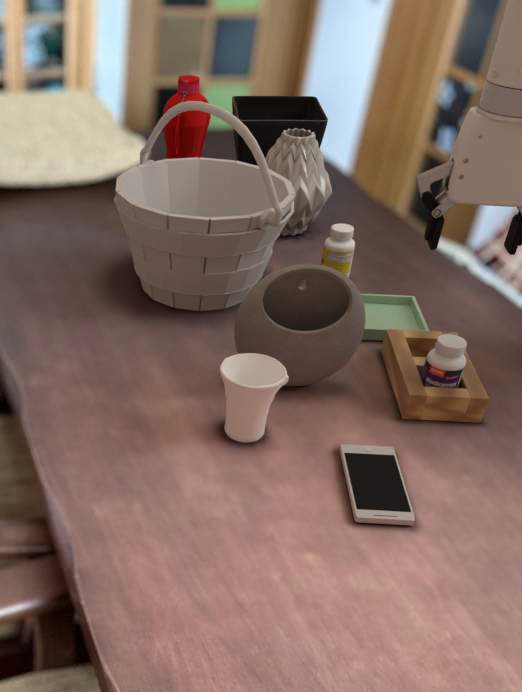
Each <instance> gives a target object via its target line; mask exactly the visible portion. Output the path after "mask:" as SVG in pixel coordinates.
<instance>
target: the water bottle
mask: <svg viewBox="0 0 522 692" xmlns="http://www.w3.org/2000/svg"><path fill="white" fill-rule="evenodd" d="M200 79H201V77H200V76H197V75H193V74H183V75H180V76H179V75H178V77H177V90H176V93H174V94H173V95H171V96H170V97H169V99H167V101H166V103H165V105H164V108H163V111H162V116H163V115H164V114H165V113H166V112H167V111H168V110H169V109H170V108H172V107H174V106H175V105H177V104H179V103H182V102H187V101H201V102H205V103H209V104H210V102H209V100H208V99H207V98H206V97H205V95H203V94H202V93H200V83H201V82H200V81H201V80H200ZM211 116H212V114H209V113H206V112H202V111H193V110H188V111H185V112H182V113H179V114H178V115H176V116H175V117H173V118H172V119H171V120H170V121H169V122H168V123H167V124H166V125H165V126H164V128H163V129H162V131H163V136H164V141H165V159H177V158H195V157H198V158H199V159H200V157H202V158H203V153H204V146H205V142H206V138H207V133H208V129H209V126H210V122H211V119H212V117H211Z"/></svg>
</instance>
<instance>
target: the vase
mask: <svg viewBox="0 0 522 692" xmlns="http://www.w3.org/2000/svg"><path fill="white" fill-rule="evenodd" d="M265 160H266V163H267V166H268V169H270V170H272V171H274V172H275V173H277V174H279V175H281V176H283V177H284V178H286V179H288V180H290V181H291V183H292V186H293V188H294V191H295V193H296V196H295V198H294V213H293V214H292V216H291V217H290V219H289V220H288V222H287V223H286V225H285V226H284V228H283V230H282V231H281V233H280V236H281V235H282V236H283V237H285V236H293V237H294V236H296V235H302V234H303V233H304V232H306V231H307V229H308V226H309V225H311V224H313V222H314V221H315V219H316V218H317V217H318V215H320V213H321V211H322V209H323V207H324V205H325V204H326V202H327V201H328V199H329V198H330V197H331V195H332V194H333V188H332V183H331V180H330V176H329V173H328V171H327V170H326V168H325V161H324V155H323V152H322V150H321V148H320V149H319V146H318V141H317V140H316V137H315V133H314V132H311V131H310V130H305V129H297V128H295V129H288V130H284V131H283V132H282V134H281V137H280V138H278V139H277V141H276V144H275V145H274V146H273V147H272V148H271V149H270V150H269V151H268V154H267V156H266V158H265Z"/></svg>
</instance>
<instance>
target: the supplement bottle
mask: <svg viewBox="0 0 522 692" xmlns="http://www.w3.org/2000/svg"><path fill="white" fill-rule="evenodd" d="M354 232H355V227H354V226H353V225H351V224H348V223H335V224H332V225H331V227H330V232H329V235H330V236H329V237H327V238H326V239H325V241H324V244H323V249H322V255H321V261H320V265H322V266H326V267H330V268H333V269H335V270H337V271H339V272H341V273H343V274H344V275H346V276H347V277H348V278H349V279H350V274H351V269H352V264H353V258H354V253H355V250H356V242H355V240H354V239H353V237H354Z"/></svg>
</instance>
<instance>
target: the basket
mask: <svg viewBox="0 0 522 692" xmlns="http://www.w3.org/2000/svg"><path fill="white" fill-rule="evenodd" d="M188 110H193V111H202V112H206V113H209V114H211V116H213V117H216V118H218V119H220V120H222V121H223V122H225V123H226V124H227V125H229V126H230V127H231V128H232V129H233V128H234V129H235V130H236V131H237V132H238V133H239V135H240V136H241V137H242V138H243V139H244V141H245V142H246V144H247V145H248V147H249V148H250V150H251V151H252V153H253V156H254V158H255V160H256V162H257V164H258V166H256V165H252V164H248V163H244V162H240V161H237V160H235V159H225V158H214V157H213V158H212V157H203V156H202V157H200V159H199V158H198V157H195V158H177V159H166V158H163V159H159V160H154V159H147V154H148V153H150V152H151V150H152V148H153V146H154V145H155V143H156V141H157V139H158V137H159V135H160V134H161V133H162V131H163V128H164V126H165V125H166V124H167V123H168V122H169V121H170V120H171V119H172V118H173V117H175V116H176V115H178V114H179V113H182V112H185V111H188ZM295 196H296V193H295V191H294V188H293V186H292V183H291V181H290V180H288V179H286V178H284V177H283V176H281V175H279V174H277V173H275V172H274V171H272V170H270V169H268V166H267V163H266V160H265V157H264V155H263V153H262V151H261V149H260V147H259V145H258V143H257V141H256V139H255V138H254V136H253V135H252V134H251V132H250V131H249V129H248V128H247V127H246V126H245V125H244V124H243V123H242V122H241V121H240V120H239V119H238V118H237V117H236V116H234V115H233V114H232V113H231V112H229V111H228V110H226V109H224V108H222V107H220V106H217V105H215V104H214V103H213V104H212V103H210V102H209V103H205V102H201V101H187V102H182V103H179V104H177V105H175V106H174V107H172V108H170V109H169V110H168V111H167V112H166V113H165V114H164V115H163V114H162V116H161V117H160V118H159V120H158V121H157V123H156V125H155V127H154V128H153V129H152V131H151V134H150V135H149V137H148V139H147V141H146V142H145V144H144V147H142V148H141V149H140V152H139V164H137V165H134V166H133V167H131V168H129V169H127V170H126V171H125V172H123V173H121V174H120V175H118V176H117V177H116V183H115V196H114V198H113V202H114V204H115V207H116V210H117V212H118V215H119V217H120V219H121V223H122V224H121V225H122V227H123V230H124V232H125V234H126V235H127V237H128V241H129V248H130V252H131V257H132V261H133V268H134V271H135V273H136V275H137V276H138V277H139V281H140V283H141V287H142V288H141V289H142V290H143V292H144V293H146V294H147V295H148V297H150V298H151V299H152V300H153V301H155V302H158V303H159V304H163V305H164V306H168V307H171V308H173V309H174V308H175V309H180V310H188V311H195V312H205V311H217V310H224V309H225V310H226V309H229V308H231V307H234V306H236V305H237V306H238V305H240V304H241V303H242V302H243V300H244V298H245V297H246V295H247V294H248V293H249V291H250V290H251V289H252V288H253V287H254V286H255V285H256V284H257V283H258V282H259V281H260V280H261V279H262V278H263V276H264V273H265V271H266V268H267V266H268V264H269V262H270V260H271V257H272V256H273V247H274V244H275V242H276V240H277V239H278V238H279V237H280V236H281V234H280V233H281V231H282V230H283V228H284V226H285V225H286V223H287V222H288V220H289V219H290V217H291V216H292V214H293V213H294V198H295Z"/></svg>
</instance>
